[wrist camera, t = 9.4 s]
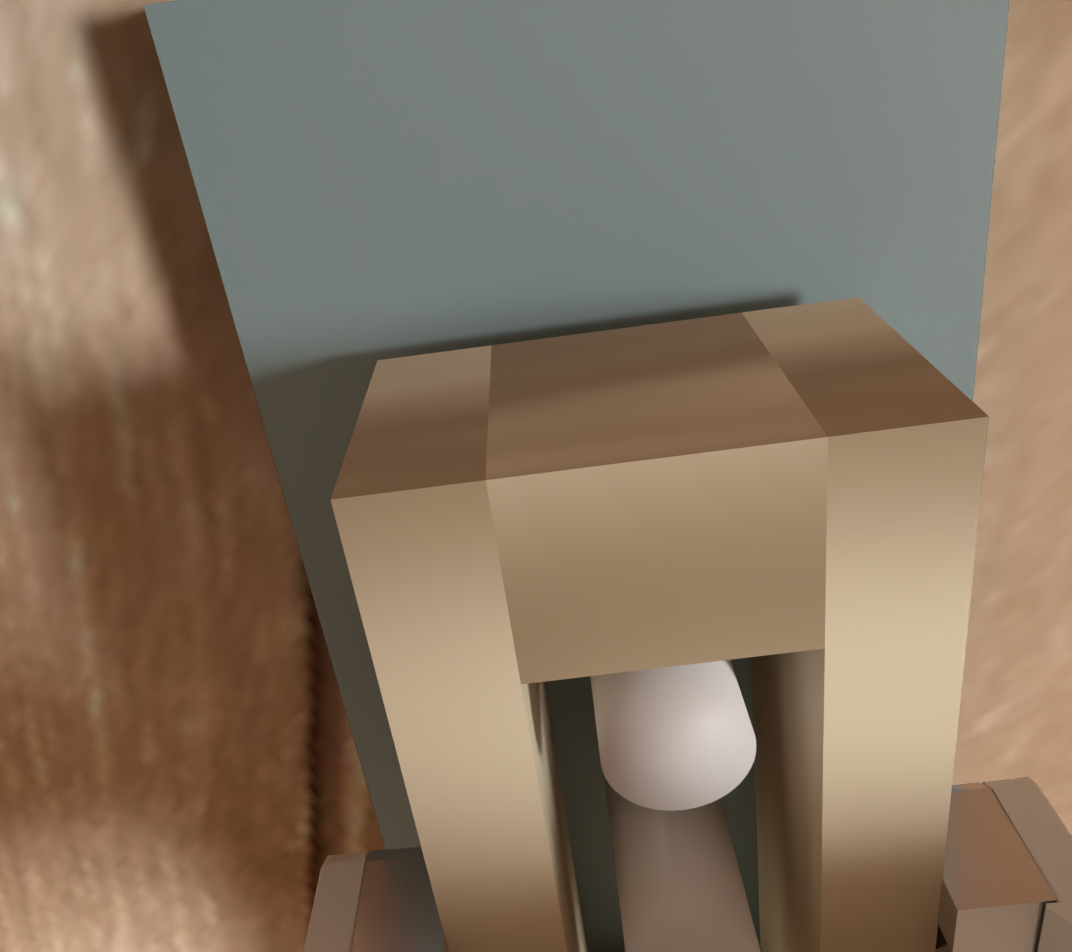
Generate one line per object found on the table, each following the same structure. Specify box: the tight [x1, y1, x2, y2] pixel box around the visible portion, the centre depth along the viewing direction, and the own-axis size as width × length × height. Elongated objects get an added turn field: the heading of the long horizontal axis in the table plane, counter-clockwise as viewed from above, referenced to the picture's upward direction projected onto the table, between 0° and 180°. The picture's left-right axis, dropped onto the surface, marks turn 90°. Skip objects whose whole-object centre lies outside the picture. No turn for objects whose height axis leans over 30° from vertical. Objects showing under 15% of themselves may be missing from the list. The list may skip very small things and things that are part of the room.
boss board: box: [143, 0, 1009, 952], centre depth 11 cm, size 16×8×4 cm, turn 7°
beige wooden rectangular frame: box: [331, 297, 989, 952], centre depth 11 cm, size 12×5×3 cm, turn 7°
